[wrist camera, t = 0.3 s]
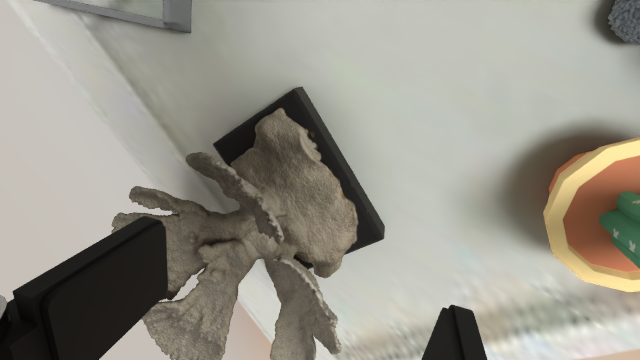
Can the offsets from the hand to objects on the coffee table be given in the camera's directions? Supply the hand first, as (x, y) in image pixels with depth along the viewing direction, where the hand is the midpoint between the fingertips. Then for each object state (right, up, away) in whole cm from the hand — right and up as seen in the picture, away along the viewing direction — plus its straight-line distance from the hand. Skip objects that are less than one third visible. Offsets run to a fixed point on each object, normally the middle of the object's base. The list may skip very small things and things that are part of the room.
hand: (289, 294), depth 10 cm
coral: (-3, +1, +35) cm, 35 cm away
